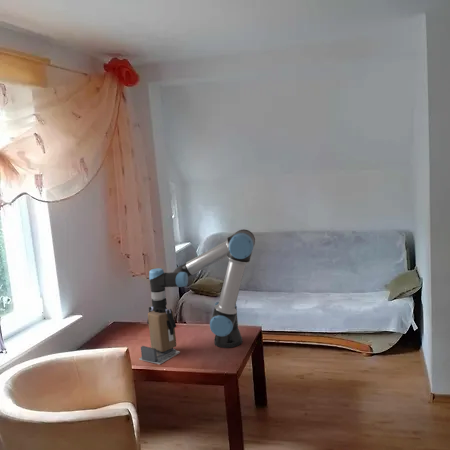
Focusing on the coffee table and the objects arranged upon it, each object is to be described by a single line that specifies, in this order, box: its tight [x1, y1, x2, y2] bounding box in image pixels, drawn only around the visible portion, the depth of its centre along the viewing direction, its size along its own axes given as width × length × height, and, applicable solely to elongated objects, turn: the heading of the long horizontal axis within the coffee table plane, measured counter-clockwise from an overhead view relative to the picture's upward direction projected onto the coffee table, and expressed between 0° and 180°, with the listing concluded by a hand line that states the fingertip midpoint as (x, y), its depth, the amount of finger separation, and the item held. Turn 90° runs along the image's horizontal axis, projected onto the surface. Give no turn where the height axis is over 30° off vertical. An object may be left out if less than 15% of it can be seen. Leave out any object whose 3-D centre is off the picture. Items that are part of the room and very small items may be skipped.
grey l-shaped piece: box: [138, 345, 181, 365], centre depth 283 cm, size 14×17×8 cm
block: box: [147, 310, 177, 352], centre depth 284 cm, size 10×10×20 cm
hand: (163, 338), depth 285 cm, fingers closed on block, 11 cm apart
